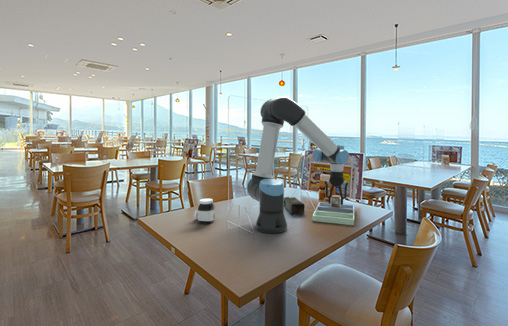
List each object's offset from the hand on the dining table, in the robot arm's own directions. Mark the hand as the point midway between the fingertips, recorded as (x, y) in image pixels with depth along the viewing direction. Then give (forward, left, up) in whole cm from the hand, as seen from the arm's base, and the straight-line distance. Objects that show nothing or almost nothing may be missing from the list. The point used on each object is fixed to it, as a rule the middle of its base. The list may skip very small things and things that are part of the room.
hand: (335, 209), depth 161 cm
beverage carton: (-24, -7, -1) cm, 25 cm away
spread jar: (-64, -43, -1) cm, 78 cm away
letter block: (0, 0, 0) cm, 0 cm away
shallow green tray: (0, -10, -1) cm, 10 cm away
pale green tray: (0, -20, -1) cm, 20 cm away
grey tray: (0, 0, -1) cm, 1 cm away
